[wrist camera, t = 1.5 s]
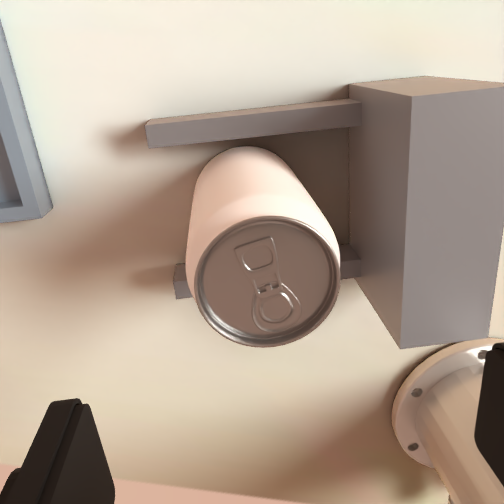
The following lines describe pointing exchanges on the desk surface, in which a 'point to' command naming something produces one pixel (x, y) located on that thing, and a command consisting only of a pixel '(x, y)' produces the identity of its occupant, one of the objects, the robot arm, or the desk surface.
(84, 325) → the desk surface
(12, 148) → the tray
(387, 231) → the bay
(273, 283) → the can
